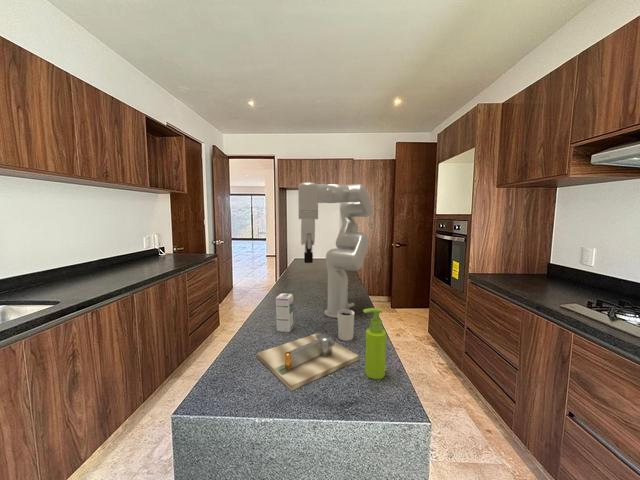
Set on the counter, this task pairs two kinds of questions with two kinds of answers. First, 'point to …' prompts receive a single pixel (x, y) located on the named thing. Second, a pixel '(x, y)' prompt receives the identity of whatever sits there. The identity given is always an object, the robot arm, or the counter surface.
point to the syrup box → (284, 312)
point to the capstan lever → (309, 351)
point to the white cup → (345, 324)
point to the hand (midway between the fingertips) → (308, 262)
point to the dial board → (309, 368)
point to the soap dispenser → (375, 346)
